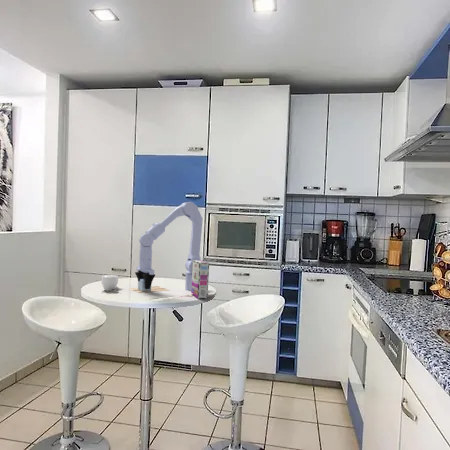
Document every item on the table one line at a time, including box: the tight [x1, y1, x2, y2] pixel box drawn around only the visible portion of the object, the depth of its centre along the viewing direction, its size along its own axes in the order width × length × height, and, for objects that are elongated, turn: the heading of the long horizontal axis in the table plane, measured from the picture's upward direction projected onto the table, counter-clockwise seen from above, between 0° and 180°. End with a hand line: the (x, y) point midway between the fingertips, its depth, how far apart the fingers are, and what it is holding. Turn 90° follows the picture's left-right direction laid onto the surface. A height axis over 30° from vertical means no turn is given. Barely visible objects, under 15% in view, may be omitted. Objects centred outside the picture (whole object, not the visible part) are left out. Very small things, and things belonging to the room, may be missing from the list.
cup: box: [101, 274, 119, 292], centre depth 190 cm, size 8×10×7 cm
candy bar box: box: [190, 260, 210, 300], centre depth 181 cm, size 11×5×16 cm, turn 21°
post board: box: [129, 286, 169, 294], centre depth 189 cm, size 12×16×1 cm
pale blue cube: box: [137, 279, 152, 291], centre depth 186 cm, size 5×5×5 cm
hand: (144, 287), depth 186 cm, fingers open, 6 cm apart
